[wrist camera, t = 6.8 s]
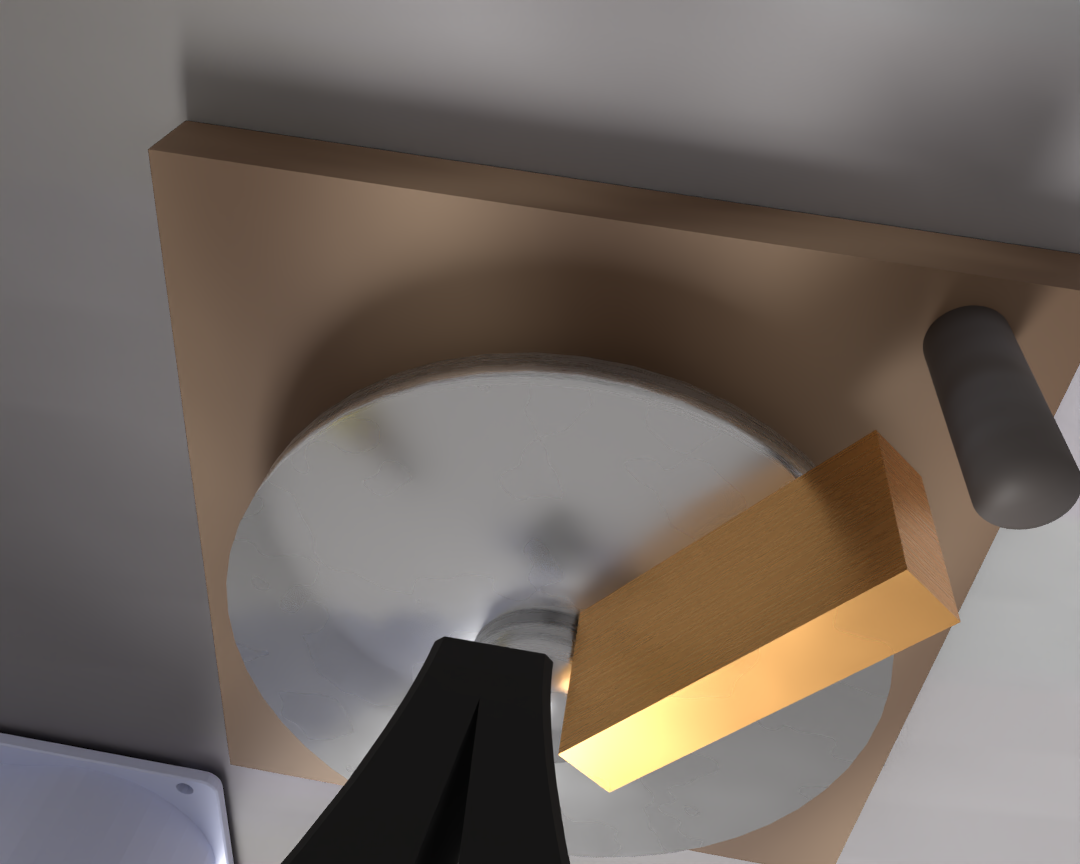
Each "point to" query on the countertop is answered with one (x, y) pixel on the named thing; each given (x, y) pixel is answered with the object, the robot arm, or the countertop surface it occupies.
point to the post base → (604, 351)
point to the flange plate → (593, 584)
